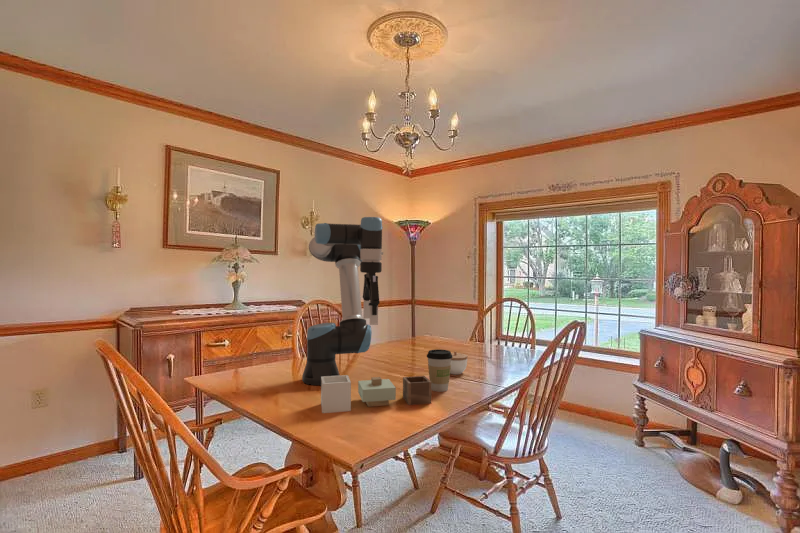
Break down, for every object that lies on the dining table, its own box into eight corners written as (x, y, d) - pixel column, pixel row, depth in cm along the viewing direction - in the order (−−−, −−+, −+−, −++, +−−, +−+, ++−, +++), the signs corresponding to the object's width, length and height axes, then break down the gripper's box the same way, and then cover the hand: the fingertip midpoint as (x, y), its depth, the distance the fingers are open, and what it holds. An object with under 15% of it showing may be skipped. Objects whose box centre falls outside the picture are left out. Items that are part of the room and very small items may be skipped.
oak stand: (364, 402, 143) (364, 393, 143) (384, 400, 145) (384, 392, 145) (367, 408, 136) (367, 399, 136) (388, 407, 138) (388, 398, 138)
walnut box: (402, 399, 146) (402, 377, 146) (424, 398, 148) (424, 375, 148) (408, 407, 138) (408, 383, 138) (431, 405, 140) (431, 381, 140)
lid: (358, 392, 145) (358, 375, 145) (388, 390, 147) (388, 373, 147) (362, 402, 134) (362, 383, 134) (395, 399, 137) (395, 381, 137)
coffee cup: (451, 395, 151) (451, 354, 151) (424, 394, 153) (424, 353, 153) (453, 388, 160) (453, 349, 160) (428, 386, 162) (428, 348, 162)
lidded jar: (469, 375, 179) (469, 354, 179) (444, 375, 179) (444, 354, 179) (465, 369, 190) (465, 349, 190) (442, 369, 190) (442, 349, 190)
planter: (320, 406, 139) (321, 376, 139) (347, 404, 141) (347, 375, 141) (322, 415, 130) (322, 383, 130) (350, 413, 132) (350, 382, 132)
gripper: (388, 262, 134) (388, 327, 135) (375, 260, 158) (374, 315, 159) (366, 261, 132) (365, 327, 133) (355, 260, 156) (355, 316, 157)
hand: (370, 321), depth 146 cm, fingers open, 13 cm apart
